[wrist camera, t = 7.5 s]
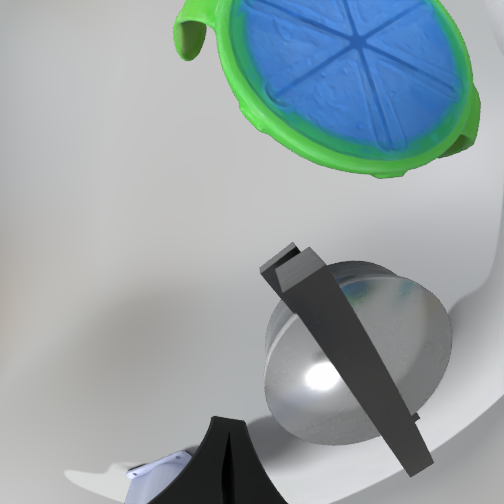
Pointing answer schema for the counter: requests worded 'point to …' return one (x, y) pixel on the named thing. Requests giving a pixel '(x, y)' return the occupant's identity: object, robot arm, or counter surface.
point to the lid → (356, 358)
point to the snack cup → (344, 77)
